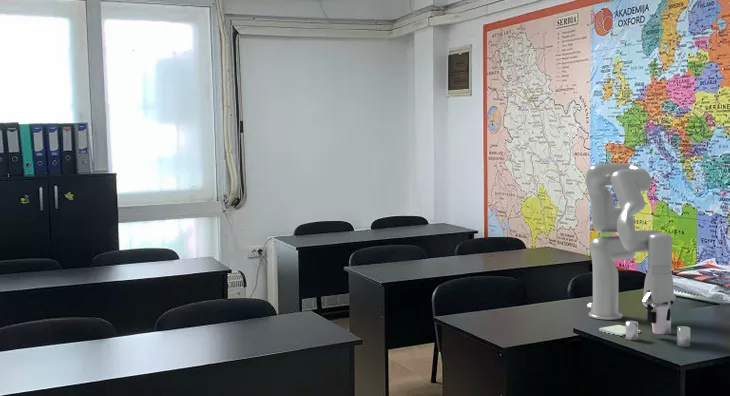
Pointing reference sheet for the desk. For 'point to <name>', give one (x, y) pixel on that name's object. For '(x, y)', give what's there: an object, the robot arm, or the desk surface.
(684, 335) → the set of grey cylinders
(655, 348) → the desk surface
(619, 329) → the coaster mat
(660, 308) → the smoothie
